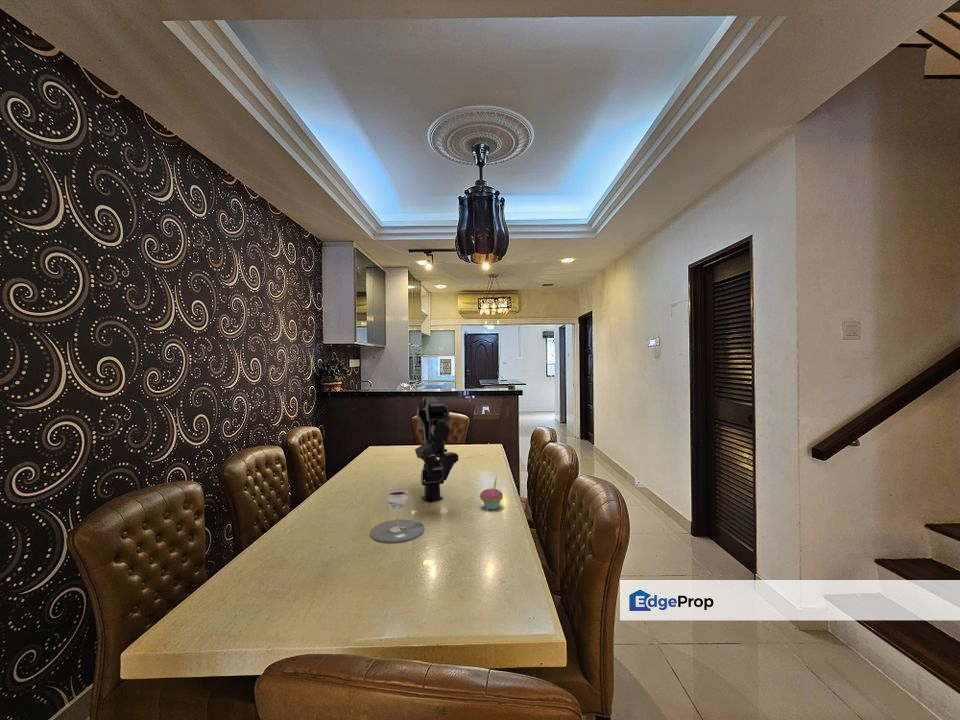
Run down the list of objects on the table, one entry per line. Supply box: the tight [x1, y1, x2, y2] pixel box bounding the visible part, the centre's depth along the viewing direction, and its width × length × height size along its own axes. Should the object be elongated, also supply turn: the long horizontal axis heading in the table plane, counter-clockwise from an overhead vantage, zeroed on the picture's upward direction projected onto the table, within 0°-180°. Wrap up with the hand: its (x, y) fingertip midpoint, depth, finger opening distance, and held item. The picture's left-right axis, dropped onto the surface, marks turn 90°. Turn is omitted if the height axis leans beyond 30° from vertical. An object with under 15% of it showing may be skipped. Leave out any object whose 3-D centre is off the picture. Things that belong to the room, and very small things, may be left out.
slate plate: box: [370, 518, 425, 544], centre depth 135 cm, size 17×17×1 cm
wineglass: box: [386, 488, 409, 532], centre depth 135 cm, size 7×7×12 cm
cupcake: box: [479, 476, 504, 510], centre depth 156 cm, size 9×8×12 cm
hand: (437, 477), depth 154 cm, fingers open, 9 cm apart
